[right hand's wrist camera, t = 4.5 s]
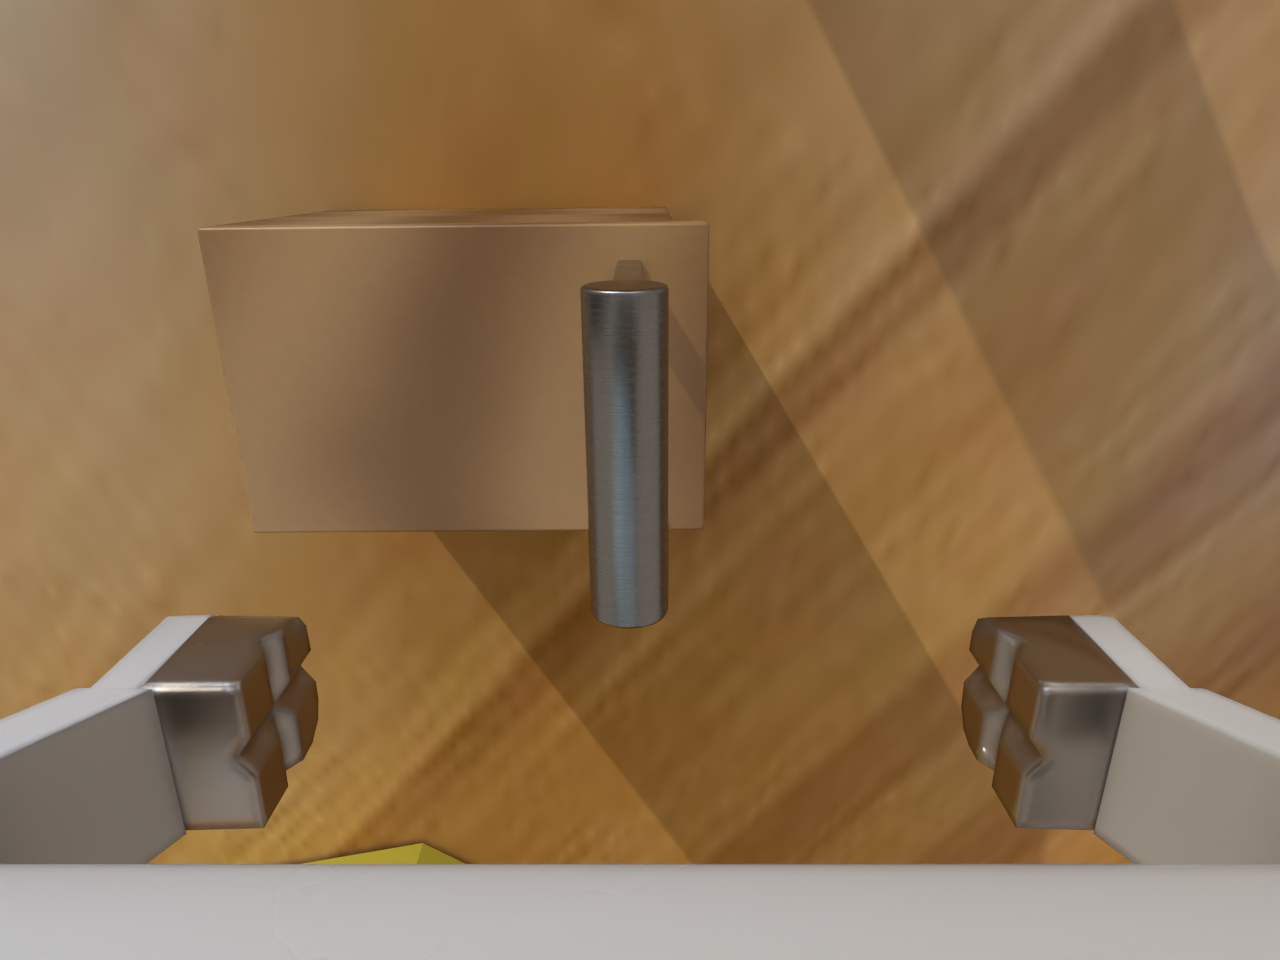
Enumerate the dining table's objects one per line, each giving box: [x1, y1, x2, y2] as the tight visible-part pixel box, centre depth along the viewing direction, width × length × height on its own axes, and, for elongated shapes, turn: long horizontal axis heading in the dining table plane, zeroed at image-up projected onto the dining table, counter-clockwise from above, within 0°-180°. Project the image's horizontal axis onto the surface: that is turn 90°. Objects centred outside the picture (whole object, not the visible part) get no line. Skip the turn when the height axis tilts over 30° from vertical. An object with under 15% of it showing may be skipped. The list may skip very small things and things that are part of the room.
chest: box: [216, 207, 673, 226], centre depth 31 cm, size 14×10×10 cm
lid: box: [198, 221, 709, 628], centre depth 23 cm, size 15×10×9 cm, turn 91°
